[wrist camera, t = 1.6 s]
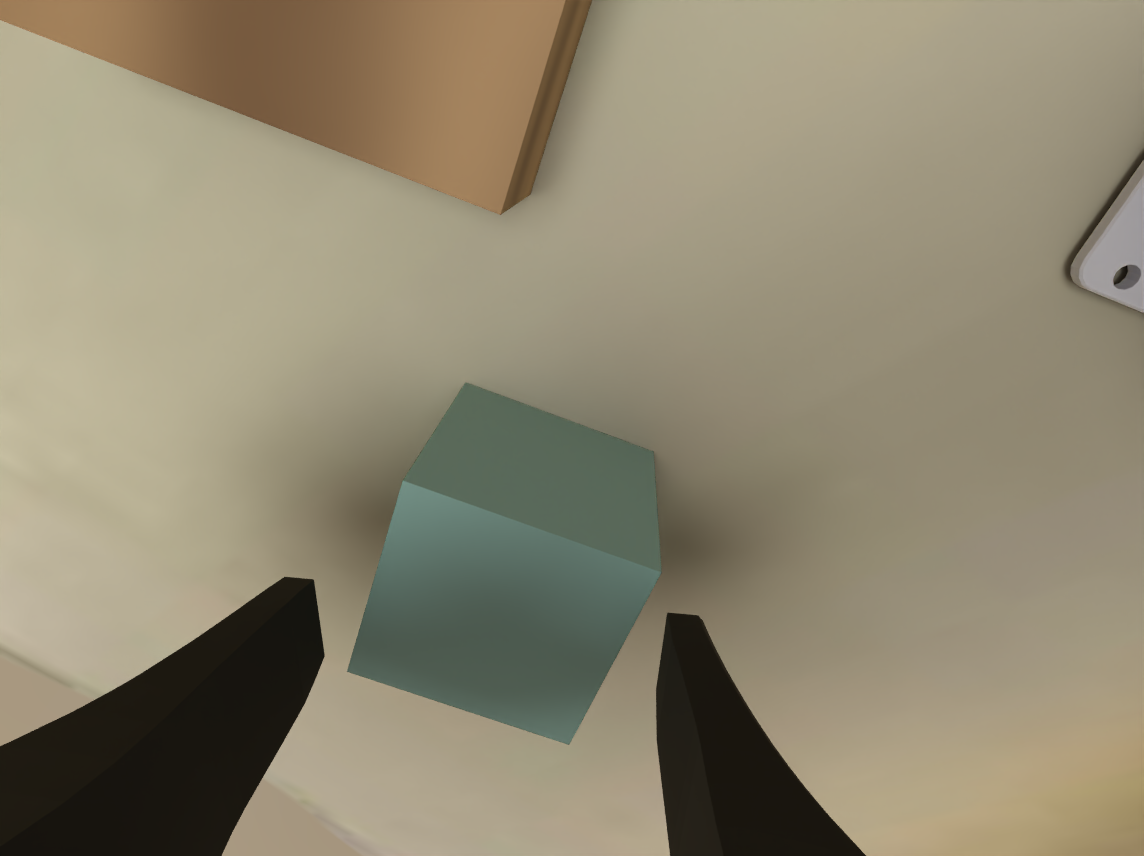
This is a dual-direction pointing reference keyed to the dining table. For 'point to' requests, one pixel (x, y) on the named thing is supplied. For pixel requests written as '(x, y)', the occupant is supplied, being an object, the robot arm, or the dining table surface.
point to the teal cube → (512, 565)
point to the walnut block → (356, 74)
